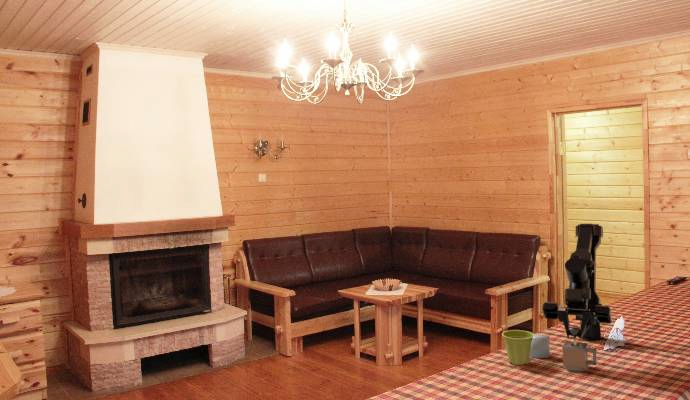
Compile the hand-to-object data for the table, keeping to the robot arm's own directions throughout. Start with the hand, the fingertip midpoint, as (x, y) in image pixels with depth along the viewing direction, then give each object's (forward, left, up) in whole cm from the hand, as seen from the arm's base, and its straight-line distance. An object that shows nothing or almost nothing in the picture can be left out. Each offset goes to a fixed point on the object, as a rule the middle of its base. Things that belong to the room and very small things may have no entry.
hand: (574, 337), depth 170 cm
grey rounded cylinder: (-15, -2, -9) cm, 18 cm away
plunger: (-1, +1, -7) cm, 7 cm away
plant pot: (-12, -11, -10) cm, 19 cm away
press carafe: (0, +2, -9) cm, 10 cm away
